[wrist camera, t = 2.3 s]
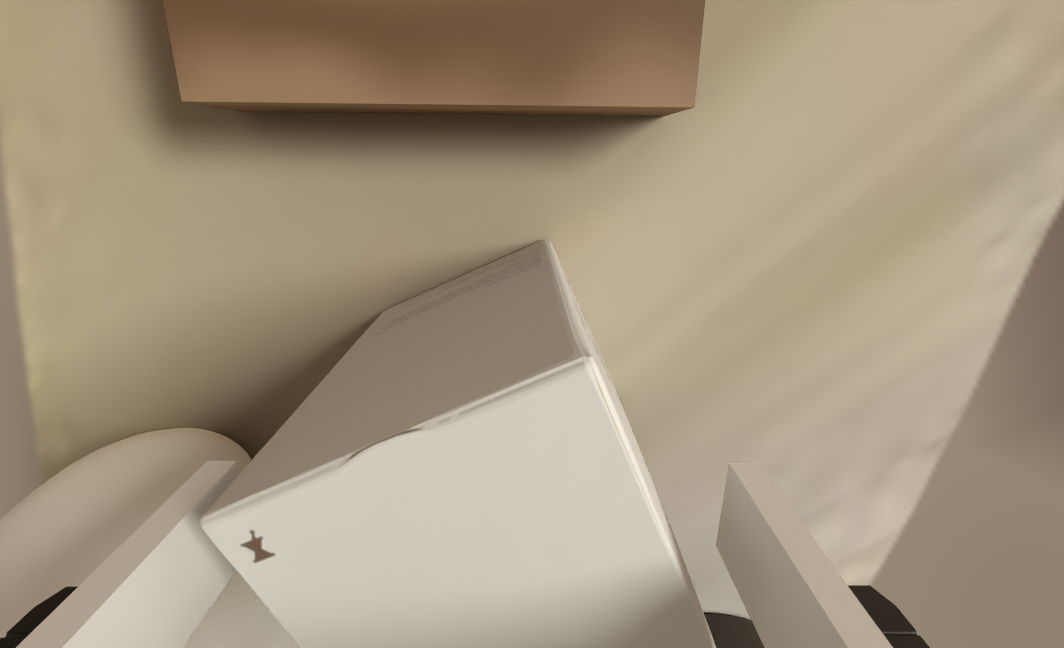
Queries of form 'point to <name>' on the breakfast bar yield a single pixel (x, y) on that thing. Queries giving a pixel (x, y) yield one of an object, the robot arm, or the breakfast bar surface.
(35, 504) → the white teardrop-shaped piece
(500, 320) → the supplement box
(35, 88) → the breakfast bar surface
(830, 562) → the robot arm
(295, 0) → the walnut riser
